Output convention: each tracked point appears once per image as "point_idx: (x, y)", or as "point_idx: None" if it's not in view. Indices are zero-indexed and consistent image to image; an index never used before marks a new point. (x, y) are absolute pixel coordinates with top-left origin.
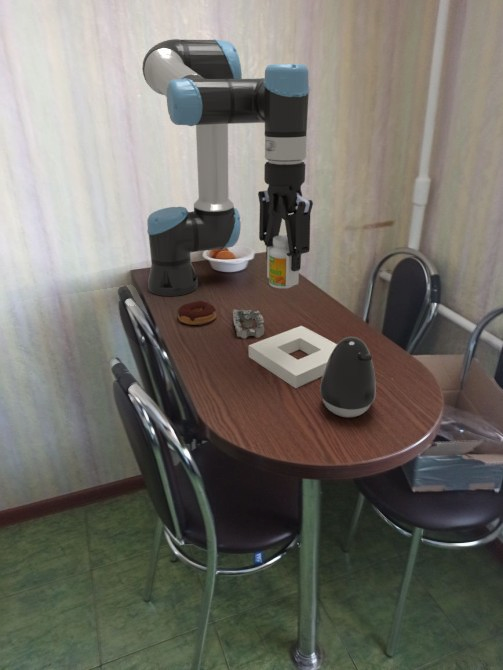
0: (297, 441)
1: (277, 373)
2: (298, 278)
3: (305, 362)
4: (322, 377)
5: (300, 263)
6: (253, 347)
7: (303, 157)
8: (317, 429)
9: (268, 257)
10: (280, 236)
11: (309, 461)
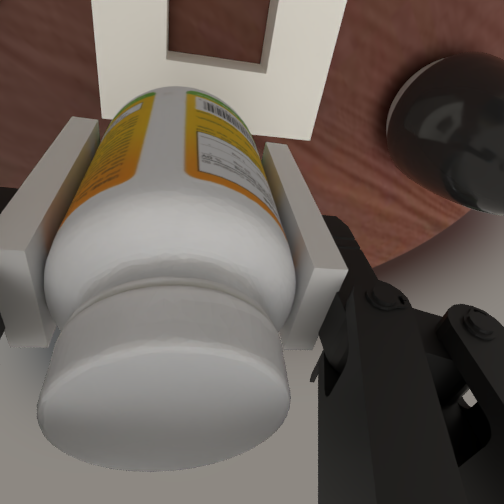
0: (383, 231)
1: None
2: (294, 161)
3: (292, 69)
4: (412, 175)
5: (359, 248)
6: None
7: None
8: (399, 192)
9: None
10: (95, 418)
11: (415, 245)
